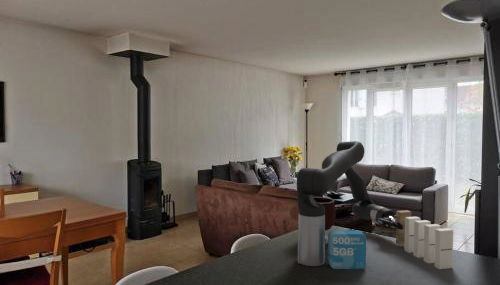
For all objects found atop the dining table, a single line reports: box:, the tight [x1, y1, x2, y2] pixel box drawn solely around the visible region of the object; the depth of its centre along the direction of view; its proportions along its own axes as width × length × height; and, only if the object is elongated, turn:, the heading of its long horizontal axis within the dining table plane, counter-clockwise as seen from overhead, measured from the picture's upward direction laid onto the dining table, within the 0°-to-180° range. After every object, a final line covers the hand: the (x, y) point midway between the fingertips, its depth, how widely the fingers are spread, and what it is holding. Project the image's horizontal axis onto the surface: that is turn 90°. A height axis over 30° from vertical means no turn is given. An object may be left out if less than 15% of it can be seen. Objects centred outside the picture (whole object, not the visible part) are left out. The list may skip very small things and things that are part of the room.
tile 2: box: [403, 216, 422, 254], centre depth 143 cm, size 2×5×13 cm, turn 103°
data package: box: [327, 229, 367, 270], centre depth 128 cm, size 12×4×12 cm, turn 88°
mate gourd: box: [311, 195, 337, 246], centre depth 157 cm, size 16×14×20 cm
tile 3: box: [413, 219, 431, 259], centre depth 138 cm, size 2×5×13 cm, turn 103°
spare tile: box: [395, 209, 412, 246], centre depth 148 cm, size 2×5×13 cm, turn 103°
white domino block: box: [423, 223, 442, 264], centre depth 132 cm, size 2×5×13 cm, turn 103°
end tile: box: [434, 227, 454, 270], centre depth 127 cm, size 2×5×13 cm, turn 103°
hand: (407, 226), depth 146 cm, fingers closed on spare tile, 4 cm apart
